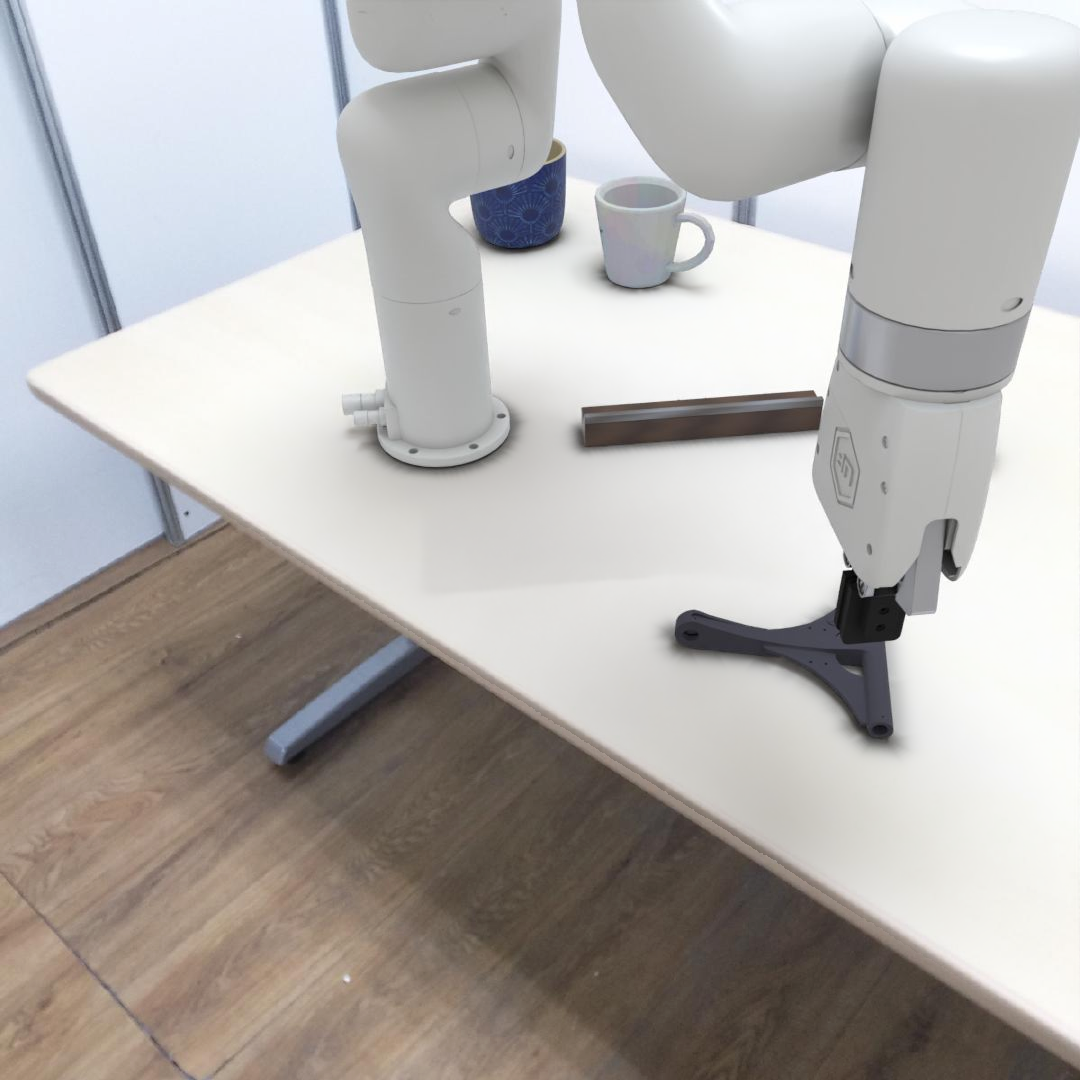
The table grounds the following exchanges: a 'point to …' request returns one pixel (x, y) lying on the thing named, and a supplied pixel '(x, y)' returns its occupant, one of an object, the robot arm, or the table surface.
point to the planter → (525, 206)
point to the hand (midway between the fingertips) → (865, 631)
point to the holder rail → (701, 418)
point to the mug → (645, 230)
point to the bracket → (806, 658)
